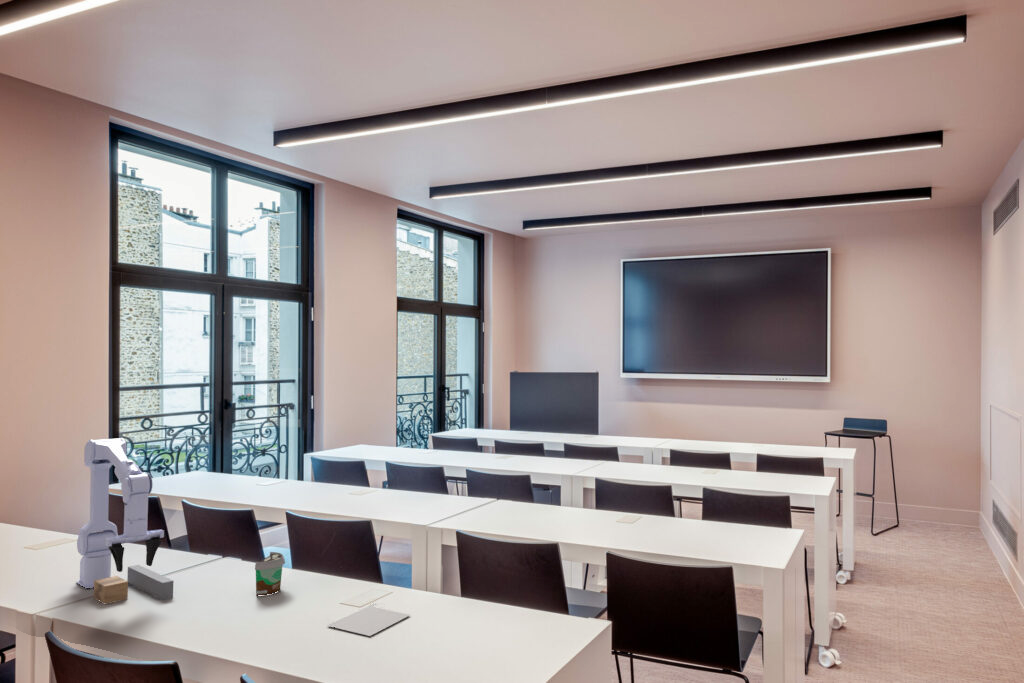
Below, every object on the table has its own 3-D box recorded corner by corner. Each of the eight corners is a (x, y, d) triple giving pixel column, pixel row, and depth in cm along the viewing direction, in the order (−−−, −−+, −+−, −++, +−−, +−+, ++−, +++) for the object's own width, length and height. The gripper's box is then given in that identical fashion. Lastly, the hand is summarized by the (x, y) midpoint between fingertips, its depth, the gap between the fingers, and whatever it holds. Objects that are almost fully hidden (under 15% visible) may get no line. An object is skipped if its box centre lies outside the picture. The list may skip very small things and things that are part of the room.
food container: (275, 598, 198) (276, 563, 199) (254, 598, 198) (254, 562, 199) (290, 585, 210) (291, 551, 211) (270, 584, 211) (270, 551, 211)
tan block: (93, 598, 198) (94, 580, 198) (116, 593, 202) (116, 575, 202) (104, 604, 192) (104, 586, 193) (127, 599, 197) (128, 581, 197)
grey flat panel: (298, 621, 181) (298, 619, 181) (362, 594, 203) (362, 592, 203) (369, 638, 170) (369, 635, 170) (428, 608, 192) (428, 605, 192)
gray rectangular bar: (127, 583, 212) (127, 566, 212) (137, 581, 214) (138, 564, 214) (162, 600, 196) (162, 582, 196) (172, 598, 199) (173, 580, 199)
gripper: (112, 524, 184) (111, 576, 184) (169, 516, 195) (167, 565, 195) (103, 520, 189) (101, 571, 188) (158, 512, 200) (157, 560, 199)
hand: (134, 568), depth 192 cm, fingers open, 7 cm apart
